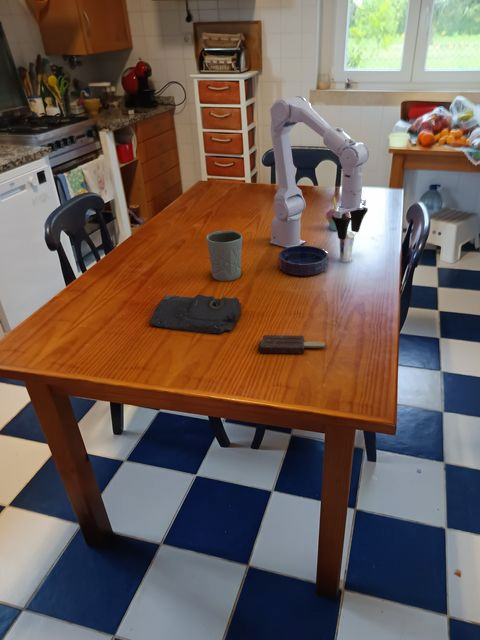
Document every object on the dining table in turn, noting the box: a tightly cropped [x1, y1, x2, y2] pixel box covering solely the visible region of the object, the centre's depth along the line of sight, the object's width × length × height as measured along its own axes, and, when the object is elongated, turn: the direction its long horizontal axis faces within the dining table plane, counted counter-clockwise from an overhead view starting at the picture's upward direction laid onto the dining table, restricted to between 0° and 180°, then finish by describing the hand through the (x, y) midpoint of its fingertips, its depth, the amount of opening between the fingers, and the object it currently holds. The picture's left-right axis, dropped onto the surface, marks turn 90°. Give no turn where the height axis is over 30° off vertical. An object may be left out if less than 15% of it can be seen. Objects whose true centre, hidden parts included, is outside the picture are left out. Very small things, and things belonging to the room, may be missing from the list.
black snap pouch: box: [149, 294, 242, 335], centre depth 123 cm, size 15×22×5 cm
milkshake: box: [339, 230, 359, 263], centre depth 148 cm, size 5×5×10 cm
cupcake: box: [325, 195, 351, 231], centre depth 172 cm, size 9×8×12 cm
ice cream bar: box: [258, 334, 326, 355], centre depth 110 cm, size 5×2×15 cm
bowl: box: [278, 245, 329, 277], centre depth 147 cm, size 15×15×4 cm
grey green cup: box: [205, 230, 243, 282], centre depth 141 cm, size 10×10×12 cm
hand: (348, 235), depth 147 cm, fingers open, 7 cm apart
